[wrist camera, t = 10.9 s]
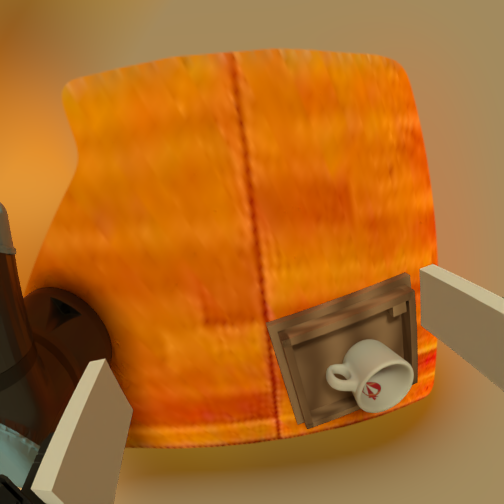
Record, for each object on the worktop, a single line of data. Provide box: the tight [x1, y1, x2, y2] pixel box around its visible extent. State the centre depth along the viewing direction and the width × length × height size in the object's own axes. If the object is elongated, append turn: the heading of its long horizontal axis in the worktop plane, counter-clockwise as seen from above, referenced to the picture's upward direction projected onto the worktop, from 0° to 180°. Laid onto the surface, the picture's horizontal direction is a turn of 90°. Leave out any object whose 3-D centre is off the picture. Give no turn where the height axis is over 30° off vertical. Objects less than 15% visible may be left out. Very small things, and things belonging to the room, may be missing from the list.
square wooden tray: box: [266, 273, 418, 429], centre depth 41 cm, size 20×18×4 cm
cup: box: [326, 339, 414, 413], centre depth 38 cm, size 11×8×8 cm
